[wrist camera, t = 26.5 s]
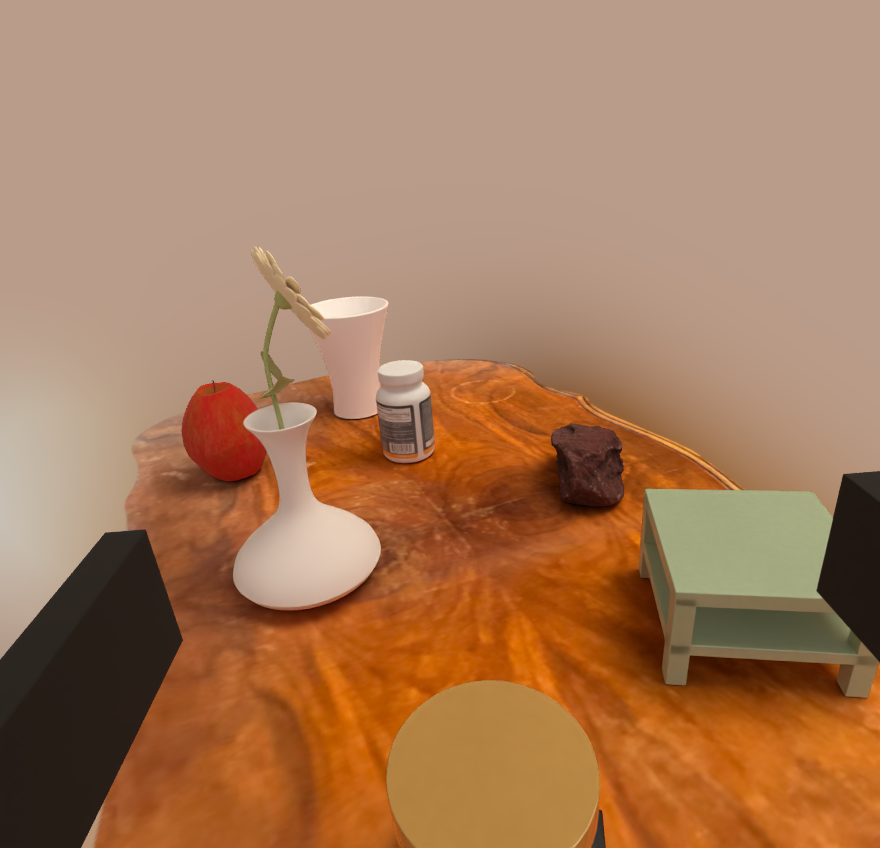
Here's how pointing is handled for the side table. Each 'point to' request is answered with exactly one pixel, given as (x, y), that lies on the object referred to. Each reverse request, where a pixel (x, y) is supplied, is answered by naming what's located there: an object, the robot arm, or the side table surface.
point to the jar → (492, 772)
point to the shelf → (745, 581)
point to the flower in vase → (298, 494)
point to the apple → (222, 432)
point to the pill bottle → (404, 412)
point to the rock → (589, 465)
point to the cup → (353, 352)
